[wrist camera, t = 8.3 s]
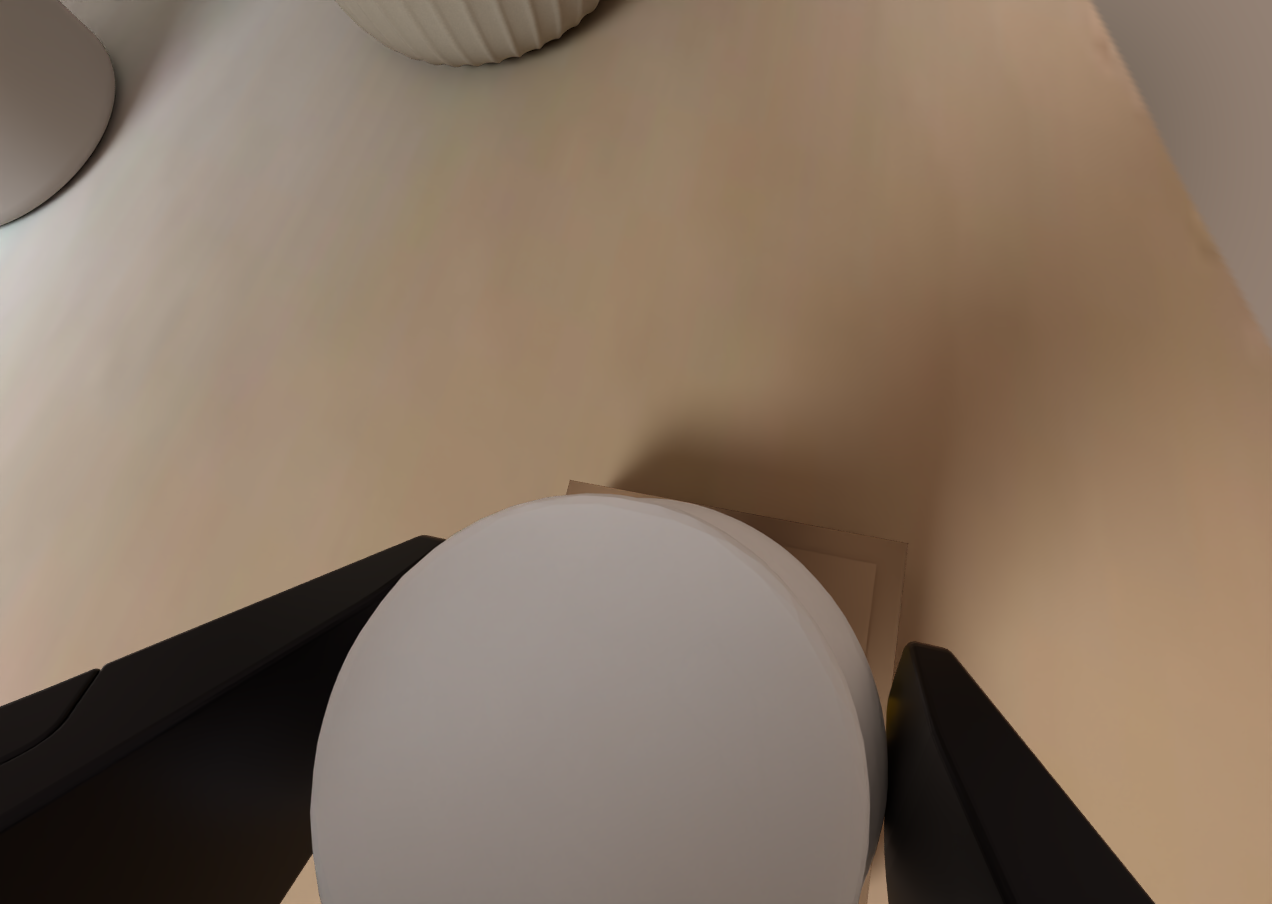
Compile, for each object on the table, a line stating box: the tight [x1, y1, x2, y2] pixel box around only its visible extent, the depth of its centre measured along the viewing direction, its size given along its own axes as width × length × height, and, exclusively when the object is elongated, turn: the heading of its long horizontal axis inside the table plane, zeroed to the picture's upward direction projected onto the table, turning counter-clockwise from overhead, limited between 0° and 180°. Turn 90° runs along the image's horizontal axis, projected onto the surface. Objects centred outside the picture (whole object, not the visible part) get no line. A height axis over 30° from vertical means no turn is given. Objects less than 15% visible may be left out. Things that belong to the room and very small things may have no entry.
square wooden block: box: [566, 480, 908, 904], centre depth 17 cm, size 9×9×3 cm
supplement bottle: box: [310, 493, 888, 904], centre depth 9 cm, size 5×5×10 cm
